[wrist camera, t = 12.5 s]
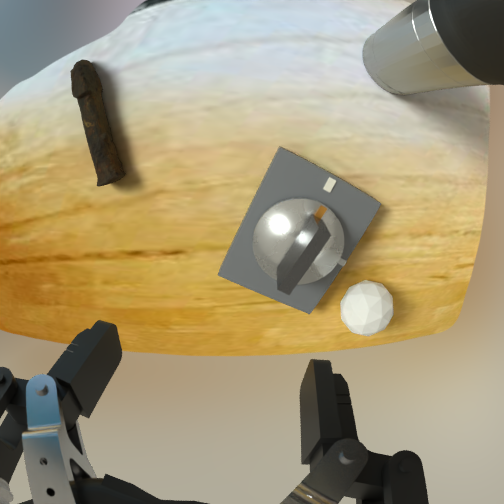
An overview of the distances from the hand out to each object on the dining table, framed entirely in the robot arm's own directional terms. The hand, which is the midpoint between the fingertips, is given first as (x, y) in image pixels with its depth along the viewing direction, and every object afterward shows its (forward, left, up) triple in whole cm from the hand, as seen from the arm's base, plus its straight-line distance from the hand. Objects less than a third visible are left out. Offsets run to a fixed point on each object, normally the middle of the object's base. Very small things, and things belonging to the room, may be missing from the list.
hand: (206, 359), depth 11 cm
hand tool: (-2, -24, -27) cm, 37 cm away
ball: (+6, +21, -27) cm, 35 cm away
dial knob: (+2, +7, -24) cm, 25 cm away
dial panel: (+2, +7, -27) cm, 28 cm away
